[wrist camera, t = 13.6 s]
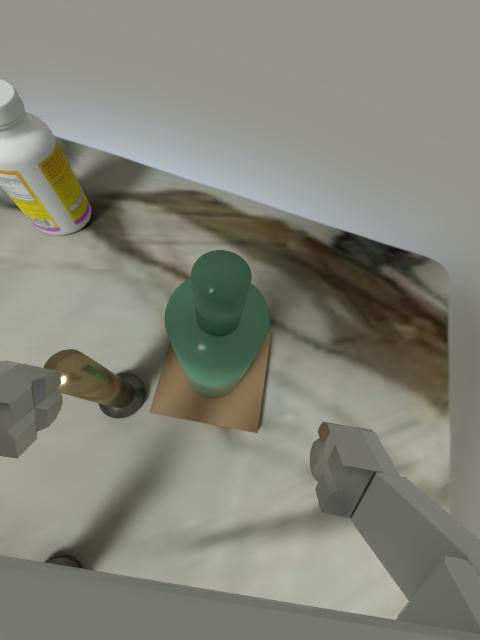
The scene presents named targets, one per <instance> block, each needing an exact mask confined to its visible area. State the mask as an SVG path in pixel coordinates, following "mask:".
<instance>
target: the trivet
mask: <svg viewBox="0 0 480 640" xmlns="http://www.w3.org/2000/svg"><path fill="white" fill-rule="evenodd" d="M270 337H271V333H270V332H268V334H267V336H266V339H265V341H264V343H263V344H262V346H261V348H260V349H259V351H258V353H257V354H256V356H255V358H254V359H253V361H252V363H251V364H250V366H249V368H248V369H247V371H246V373H245V374H244V376H243V378H242V379H241V381H240V383H239V384H238V386H237V387H236V388H235V389H234V391H232V392H231V393H230V394H228V395H226V396H224V397H221V398H216V399H211V398H205V397H203V396H200V395H199V394H197V393H196V392H194V391H193V389H192V388H191V387H190V386H189V384H188V382H187V379H186V377H185V375H184V372H183V370H182V367H181V365H180V363H179V360H178V358H177V355H176V353H175V351H174V348H173V346H172V343H171V342H170V345H169V349H168V352H167V356H166V359H165V362H164V366H163V369H162V372H161V376H160V379H159V382H158V386H157V389H156V392H155V396H154V399H153V402H152V406H151V409H150V412H151V413H156V414H161V415H166V416H171V417H176V418H182V419H187V420H192V421H197V422H203V423H208V424H213V425H218V426H223V427H229V428H234V429H239V430H244V431H250V432H255V433H258V426H259V419H260V411H261V404H262V396H263V389H264V381H265V374H266V367H267V359H268V352H269V344H270Z"/></svg>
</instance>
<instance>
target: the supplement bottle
mask: <svg viewBox="0 0 480 640" xmlns="http://www.w3.org/2000/svg"><path fill="white" fill-rule="evenodd" d="M0 185H1V187H2V188H3V189H4V190H5V191H6V193H7V194H8V195H9V196H10V197H11V199H12V200H13V201H14V202H15V203H16V204H17V206H18V207H19V208H20V209H21V210H22V211H23V213H24V214H25V215H26V216H27V217H28V219H29V220H30V221H31V222H32V223H33V224H34V225H35V226H36V227H37V228H38V229H40V230H41V231H43V232H45V233H48V234H52V235H66V234H70V233H73V232H76V231H78V230H80V229H81V228H83V227H84V226H85V225H86V224H87V223H88V221H89V219H90V217H91V206H90V203H89V201H88V199H87V197H86V195H85V194H84V192H83V190H82V188H81V186H80V184H79V182H78V180H77V178H76V176H75V175H74V173H73V171H72V169H71V167H70V165H69V163H68V162H67V160H66V158H65V156H64V154H63V152H62V150H61V148H60V147H59V145H58V143H57V141H56V139H55V137H54V135H53V134H52V132H51V130H50V129H49V127H48V126H47V125H46V124H45V123H44V122H43V121H42V120H41V119H39V118H37V117H36V116H34V115H32V114H30V113H27V112H25V110H24V104H23V102H22V100H21V99H20V97H19V95H18V93H17V92H16V90H15V88H14V87H13V86H12V85H11V84H10V83H8V82H7V81H5V80H2V79H0Z"/></svg>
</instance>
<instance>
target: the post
mask: <svg viewBox="0 0 480 640" xmlns="http://www.w3.org/2000/svg"><path fill="white" fill-rule="evenodd" d="M44 368H45V369H50V370H55V371H57V372H59V373H60V374H61V384H60V385H59V386H58V387H57V389H58V390H59V392H60V393H64V394H67V395H71V396H75V397H78V398H82V399H85V400H89V401H92V402H96V403H99V406H100V408H101V410H102V411H103V412H104V413H105V414H106V415H108V416H110V417H113V418H125V417H128V416H131V415H132V414H134V413H135V412H136V411H138V409H139V408H140V407H141V406H142V404H143V402H144V398H145V388H144V385H143V383H142V382H141V380H140V379H138V378H137V377H136V376H134V375H132V374H128V373H121V374H117V375H116V374H114V373H113V372H111V371H109V370H108V369H106V368H105V367H103V366H102V365H100V364H99V363H97V362H95V361H94V360H92V359H91V358H89V357H88V356H86V355H84V354H83V353H81V352H80V351H77V350H72V349H68V350H63V351H60V352H58V353H56V354H54V355H53V356H52V357H51V358H49V360H48V361H47V362H46V364H45V365H44Z"/></svg>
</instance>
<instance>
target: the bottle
mask: <svg viewBox="0 0 480 640" xmlns="http://www.w3.org/2000/svg"><path fill="white" fill-rule="evenodd" d="M251 278H252V276H251V270H250V268H249V266H248V264H247V263H246V261H245V260H244V259H243V258H241V257H240V256H239V255H237V254H235V253H232V252H229V251H224V250H216V251H211V252H208V253H206V254H204V255H202V256H201V257H200V258H199V259H198V260H197V261H196V262H195V264H194V265H193V268H192V272H191V278H189V279H188V280H186V281H185V282H183V283H182V284H181V285H180V286H179V287H178V288H177V289H176V290H175V291H174V293H173V294H172V296H171V297H170V299H169V301H168V304H167V307H166V311H165V326H166V330H167V333H168V336H169V339H170V341H171V343H172V346H173V348H174V351H175V353H176V355H177V358H178V360H179V363H180V365H181V367H182V370H183V372H184V375H185V377H186V379H187V382H188V384H189V386H190V387H191V388H192V389H193V391H194V392H196V393H197V394H199V395H200V396H203V397H205V398H211V399H216V398H221V397H224V396H226V395H228V394H230V393H231V392H232V391H234V389H235V388H236V387H237V386H238V384H239V383H240V381H241V379H242V378H243V376H244V374H245V373H246V371H247V369H248V368H249V366H250V364H251V363H252V361H253V359H254V358H255V356H256V354H257V353H258V351H259V349H260V348H261V346H262V344H263V343H264V341H265V339H266V336H267V334H268V330H269V324H270V316H269V310H268V306H267V304H266V301H265V299H264V297H263V296H262V294H261V293H260V291H259V290H258V289H257V288H256V287H255V286H254V285H253V284H251Z"/></svg>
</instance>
